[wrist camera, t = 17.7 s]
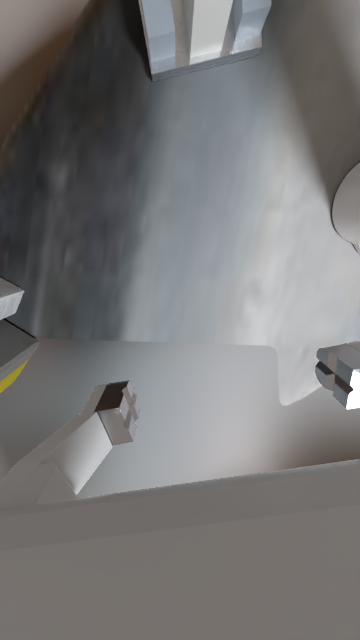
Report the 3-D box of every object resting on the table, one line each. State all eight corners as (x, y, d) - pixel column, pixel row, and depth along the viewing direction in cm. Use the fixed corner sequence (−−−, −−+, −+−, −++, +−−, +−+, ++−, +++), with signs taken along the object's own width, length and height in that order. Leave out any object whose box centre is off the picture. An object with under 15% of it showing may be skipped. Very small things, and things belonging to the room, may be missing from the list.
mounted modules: (258, -34, 25) (270, -76, 22) (259, 34, 27) (271, 5, 24) (140, -2, 26) (135, -37, 22) (151, 62, 28) (147, 38, 25)
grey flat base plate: (255, -35, 26) (259, -50, 24) (257, 56, 29) (261, 46, 28) (137, -3, 27) (135, -16, 25) (152, 82, 30) (151, 74, 28)
